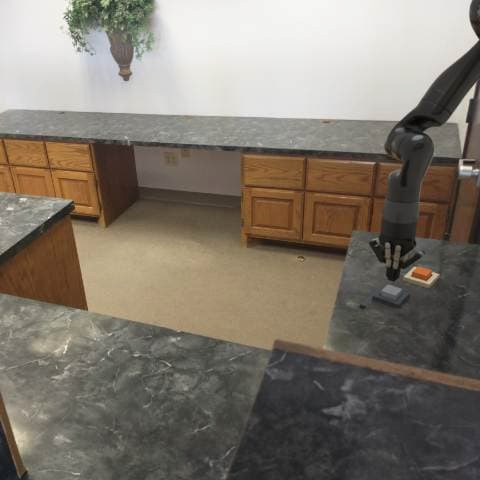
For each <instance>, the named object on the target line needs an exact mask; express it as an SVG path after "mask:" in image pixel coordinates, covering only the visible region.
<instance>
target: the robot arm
mask: <svg viewBox="0 0 480 480" xmlns="http://www.w3.org/2000/svg"><path fill="white" fill-rule="evenodd" d="M468 18H469V22H470V27H471V29H472V30H473V32H474V34H475V36H476V37H477V39H478V40H477V41H476V42H475V44H473V45H472V47H470V49H468V50H467V51H466V52H465V53H464V54H463V55H461V56H459V58H458V59H457V60H456V61H454V62H453V63H451V64H450V65H449V66H448V67H447V68H445V69H444V70H443V71H442V72H441V73H440V74H439V75H438V76H437V77H436V78H435V79H434V80H433V82H432V83H431V84H430V86H429V87H428V88H427V90H426V91H425V93H424V94H423V95H422V97H421V98H420V100H419V101H418V103H417V105H416V106H415V107H414V108H412V109H411V110H410V111H409V112H407V114H406V115H404V116H403V117H402V118H401V119H400V120H399V121H398V122H397V123H396V124H395V125H394V126H393V127H392V128H391V129H390V131H389V132H388V134H387V135H386V138H385V139H384V145H383V146H384V148H383V149H384V152H385V154H386V155H387V156H388V157H390V158H392V159H394V160H397V161H399V162H401V163H402V166H401V168H400V169H396V170H393V171H392V172H390V173H389V174H388V177H387V182H386V190H385V198H384V202H383V207H382V211H381V212H382V216H381V225H380V233H379V234H378V237H374V238H372V239H371V240H370V241H369V242H368V245H369V246H370V248H371V249H372V251H373V253H374V255H375V257H376V258H377V260H378V261H379V263H381V264H384V265H385V266H386V271H385V277H386V278H387V281H390V282H393V283H394V282H395V281H397V280H399V278H400V276H401V271H402V270H406V269H407V268H409V267H410V266H411V265H413V264H414V263H417V261H419V260H420V259H421V258H422V257H424V255H426V252H425V250H423V249H422V250H420V249H419V248H418V247H417V241H416V235H417V228H418V221H419V214H420V198H421V192H422V191H421V190H422V183H423V180H424V178H425V177H426V174H427V172H428V169H429V167H430V165H431V163H432V160H433V158H434V155H435V149H436V148H435V143H434V140H433V138H432V136H431V135H429V134H427V133H425V132H426V131H427V130H429V129H431V128H439V127H443V126H444V125H446V123H448V121H449V120H450V118H451V117H452V115H454V113H455V112H456V110H457V109H458V107H459V106H460V105H461V103H462V102H463V100H464V99H465V97H466V96H467V94H468V93H469V92H470V91H471V89H472V88H473V87H474V86H475V85H476V84H477V82H478V81H479V80H480V0H471V1H470V5H469V9H468ZM410 252H411V253H410ZM407 253H408V254H409V253H410V257H408V259H407V260H405V261H403V259H404V257H405V255H406V254H407Z"/></svg>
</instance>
